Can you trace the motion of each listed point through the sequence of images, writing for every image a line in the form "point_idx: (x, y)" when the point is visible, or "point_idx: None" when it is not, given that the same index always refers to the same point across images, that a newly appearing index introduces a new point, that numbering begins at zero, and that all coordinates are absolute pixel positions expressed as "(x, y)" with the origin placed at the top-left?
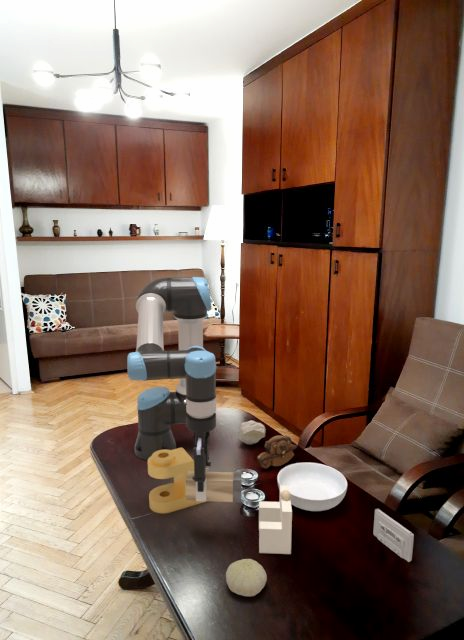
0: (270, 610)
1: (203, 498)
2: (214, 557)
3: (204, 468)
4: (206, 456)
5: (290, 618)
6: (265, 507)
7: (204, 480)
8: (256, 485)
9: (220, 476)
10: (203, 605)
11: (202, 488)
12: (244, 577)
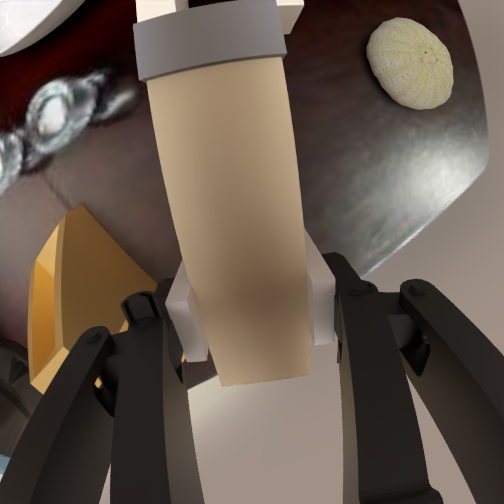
0: (437, 30)
1: None
2: (330, 146)
3: (456, 351)
4: (166, 395)
5: (440, 3)
6: (173, 3)
7: (422, 284)
8: (17, 123)
9: (232, 173)
10: (451, 153)
11: (347, 266)
12: (450, 66)
